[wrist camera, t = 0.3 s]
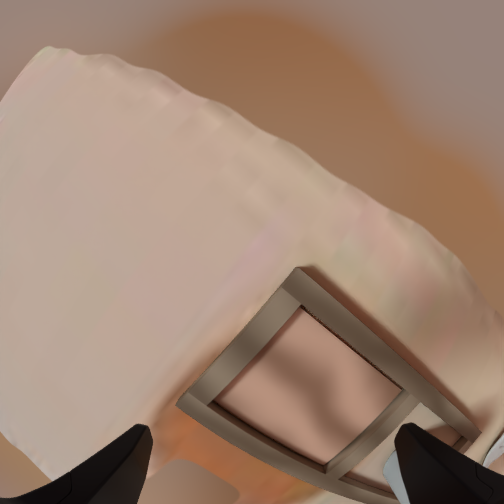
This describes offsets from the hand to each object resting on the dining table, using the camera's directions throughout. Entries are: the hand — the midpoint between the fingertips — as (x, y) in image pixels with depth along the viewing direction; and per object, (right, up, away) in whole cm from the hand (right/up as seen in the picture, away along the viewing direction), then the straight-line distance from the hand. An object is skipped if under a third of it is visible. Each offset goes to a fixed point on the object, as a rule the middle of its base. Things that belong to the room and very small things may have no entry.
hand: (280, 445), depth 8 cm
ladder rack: (+11, -13, +15) cm, 22 cm away
